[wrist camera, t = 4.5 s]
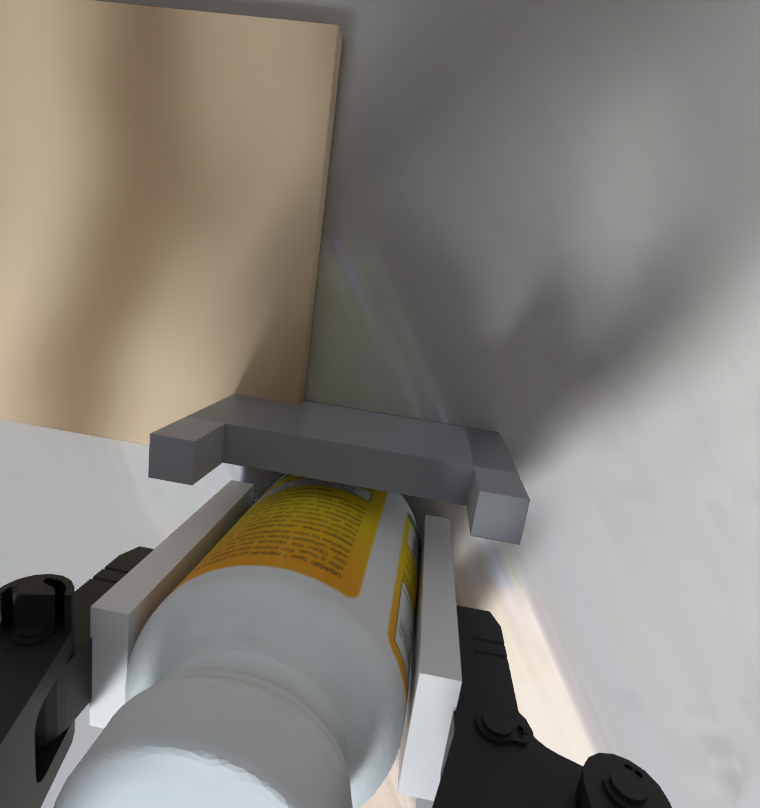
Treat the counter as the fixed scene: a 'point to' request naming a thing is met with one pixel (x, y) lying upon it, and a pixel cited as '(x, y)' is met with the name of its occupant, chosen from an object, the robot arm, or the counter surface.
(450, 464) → the holder
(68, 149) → the square wooden board
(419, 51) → the counter surface
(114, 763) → the supplement bottle
